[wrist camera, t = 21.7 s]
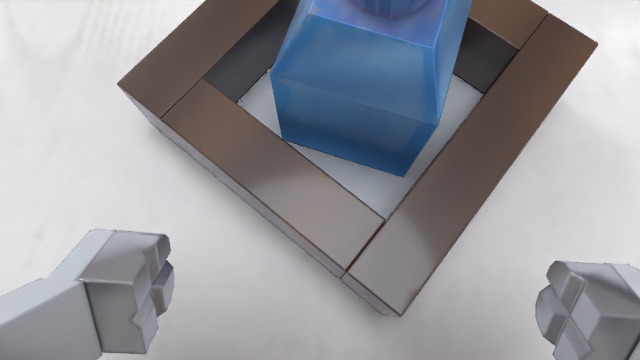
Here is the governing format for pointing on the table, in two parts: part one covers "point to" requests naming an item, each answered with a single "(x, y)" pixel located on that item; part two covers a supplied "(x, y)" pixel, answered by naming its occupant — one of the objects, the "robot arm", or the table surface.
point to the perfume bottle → (367, 76)
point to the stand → (318, 187)
